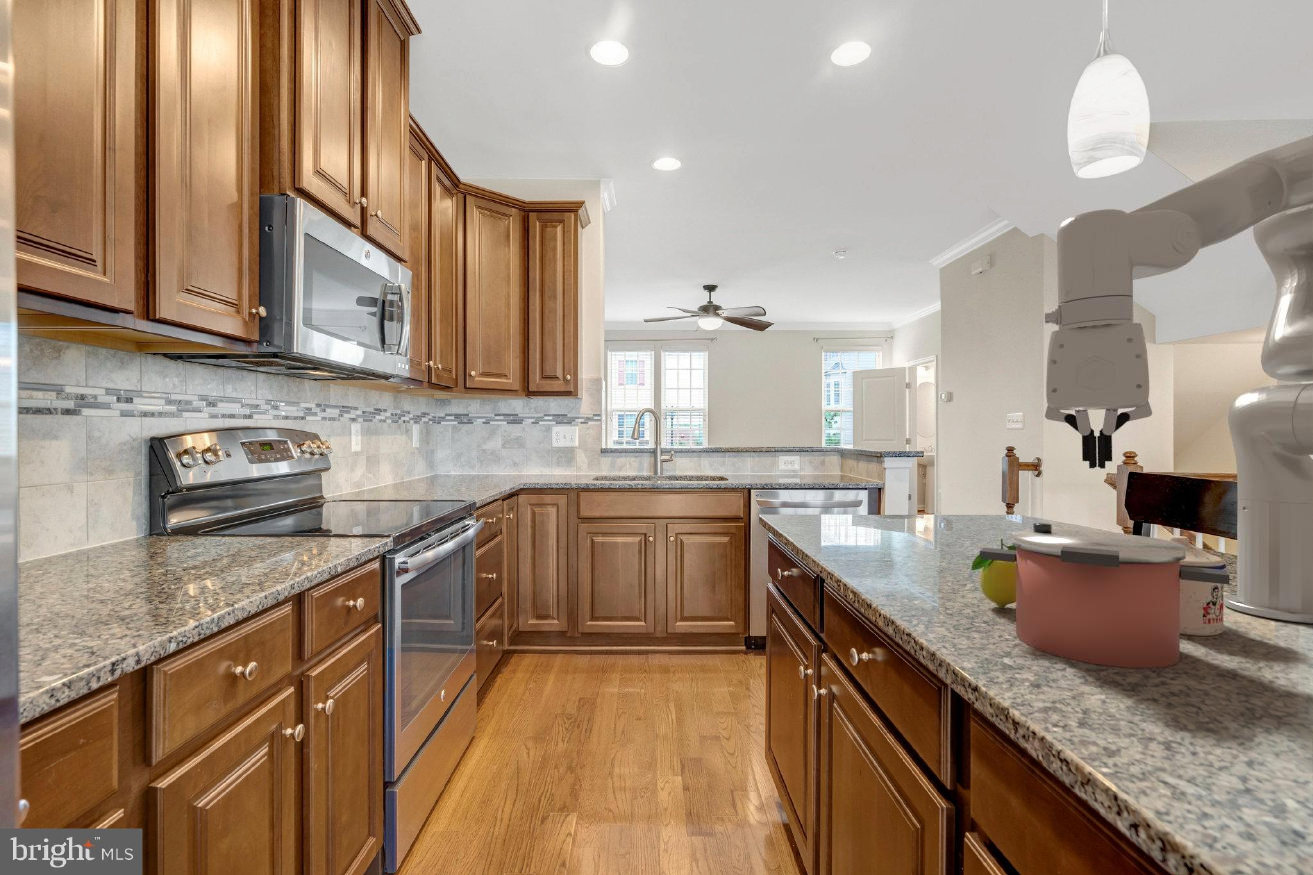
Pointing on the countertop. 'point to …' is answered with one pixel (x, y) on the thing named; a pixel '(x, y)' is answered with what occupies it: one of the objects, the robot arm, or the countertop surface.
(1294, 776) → the countertop surface
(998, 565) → the lemon
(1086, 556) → the cooker lid
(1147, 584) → the cooker pot
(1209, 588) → the teacup with lid
